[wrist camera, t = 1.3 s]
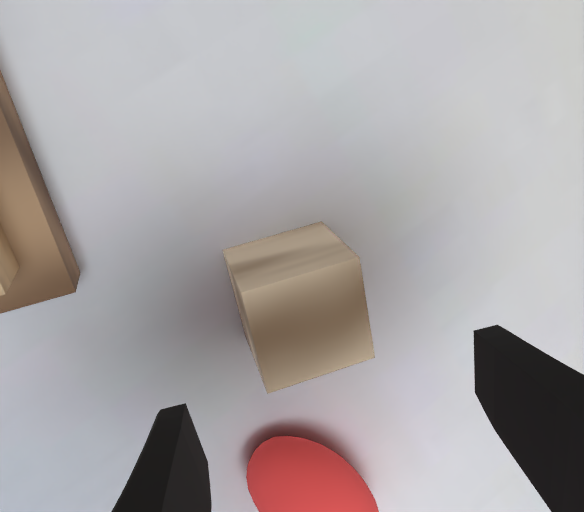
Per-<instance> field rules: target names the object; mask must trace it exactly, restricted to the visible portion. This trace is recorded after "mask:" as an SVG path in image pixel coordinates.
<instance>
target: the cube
mask: <svg viewBox="0 0 584 512" xmlns="http://www.w3.org/2000/svg"><path fill="white" fill-rule="evenodd" d="M223 254H224V258H225V261H226V265H227V269H228V272H229V276H230V280H231V284H232V287H233V291H234V295H235V298H236V302H237V306H238V310H239V313H240V317H241V321H242V324H243V328H244V332H245V336H246V339H247V341H248V344H249V347H250V349H251V352H252V354H253V357H254V360H255V362H256V365H257V367H258V370H259V373H260V375H261V378H262V380H263V383H264V386H265V388H266V391H267V394H268V393H271V392H274V391H277V390H280V389H283V388H286V387H289V386H292V385H295V384H298V383H301V382H304V381H307V380H310V379H313V378H316V377H319V376H322V375H325V374H328V373H331V372H334V371H337V370H340V369H343V368H346V367H349V366H352V365H354V364H357V363H360V362H363V361H366V360H369V359H372V358H375V355H374V349H373V342H372V336H371V329H370V323H369V316H368V310H367V303H366V297H365V290H364V284H363V278H362V271H361V265H360V258H359V256H358V255H357V254H356V253H354V252H353V251H352V250H351V249H350V248H349V247H348V246H347V245H346V244H345V243H344V242H343V241H342V240H341V239H339V238H338V237H337V236H336V235H335V234H334V233H333V232H332V231H331V230H330V229H329V228H328V227H327V226H326V225H324V224H323V223H322V222H318V223H315V224H311V225H308V226H304V227H301V228H297V229H294V230H290V231H287V232H283V233H280V234H276V235H273V236H269V237H266V238H262V239H259V240H255V241H252V242H248V243H245V244H241V245H238V246H234V247H231V248H227V249H224V250H223Z"/></svg>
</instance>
